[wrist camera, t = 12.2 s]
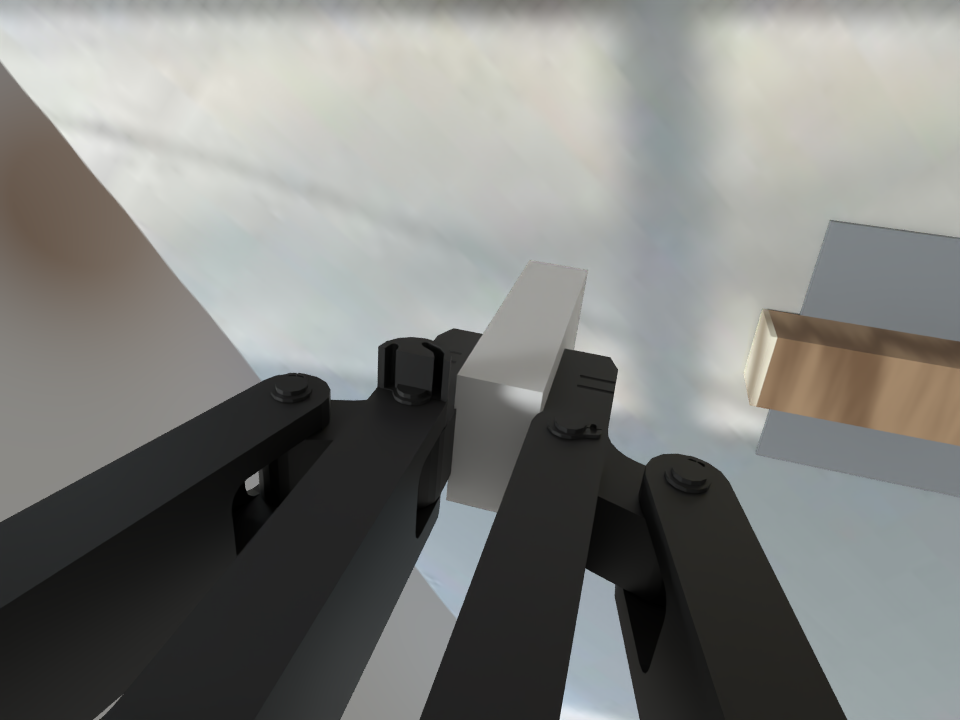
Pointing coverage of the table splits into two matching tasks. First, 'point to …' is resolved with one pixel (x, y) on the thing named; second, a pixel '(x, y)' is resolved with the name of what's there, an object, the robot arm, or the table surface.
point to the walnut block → (856, 375)
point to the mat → (887, 305)
